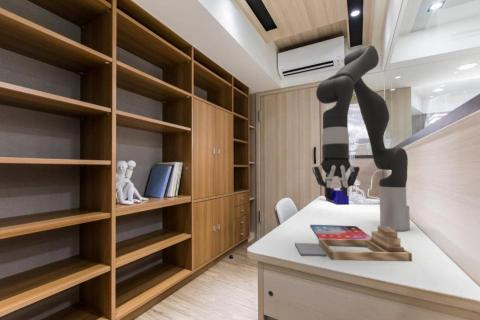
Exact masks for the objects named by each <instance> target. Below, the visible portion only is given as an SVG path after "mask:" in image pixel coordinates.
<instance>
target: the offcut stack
mask: <svg viewBox="0 0 480 320" xmlns="http://www.w3.org/2000/svg"><path fill="white" fill-rule="evenodd" d="M370 233H371V234H370V235H371V236H370V237H371V242H373V243H374V244H376V245H377V246H379V247H381V248H382V249H384V250H385V251H387V252H404V250H405V247H403V246H401V245H402V244H401V238H400V237H399V236H398V231H394V230H393V229H391V228H389V227H380V226H377V230H375V231H373V230H372V231H370Z"/></svg>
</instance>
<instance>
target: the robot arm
mask: <svg viewBox="0 0 480 320" xmlns="http://www.w3.org/2000/svg"><path fill="white" fill-rule="evenodd" d="M379 60H380V57H379V54H378V51H377V49H376V47H375V46H374V45H371V44H368V45H364V46H362V47H360V48H358V49H357V50H354V51H352V52H350V53H349V54H347V55H345V57H344V59H343V64H344V66H343V67H341V68H340V69H339V70H338V71H337V72H336V73H335V74H333V75H331V76H329V77H327V78H325V79H324V80H322V81H321V82H319V84H318V86H317V87H316V92H315V93H316V94H315V95H316V96H315V97H316V99H317V100H318V101H319V102H320V103H322V104H324V105H327V104H333V103H336V104H335V105H334V106H333V107H331V108H329V109H326V110H325V111H324V112H323V114H322V136H321V147H322V148H321V150H322V153H321V158H322V160H321V161H322V162H321V163H320V165H317V166H313V167H312V171H313V175H314V177H315V179H316V182H317V184H318V185H319V186H322V187H324V198H325V199H326V198H327V200H331V188H332V187H331V186H332V181H333V180H334V177H337V180H338V181H339V184H340V186H341V187H340V188H339V190H343V195H347V196H349V195H348V188H349V187H353V186H354V185H355V183H356V180H357V177H358V175H359V172H360V170H361V169H360V168H361V167H360V166H354V165H351V163H350V135H349V127H348V126H349V125H348V123H349V122H348V119H349V117H348V115H349V110H350V105H351V101H352V98H353V95H354V94H355V98H356V101H357V103H358V107H359V111H360V113H361V117H362V121H363V123H364V125H365V129H366V132H367V136H368V140H369V144H370V149H371V153H372V159H373V162H374V165H375V166H376V168H377V169H378V170H381V171H391V173H390V174H389V175H388V176H386V177H384V178H381V179H379V181H378V182H379V183H378V185H379V220H380V221H379V223H380V226H379V227H389V228H391V229H393V230H394V231H396V232H405V231H410V230H411V223H410V222H411V221H410V220H411V219H410V215H411V214H410V206H409V205H408V204H407V201H408V200H407V181H408V167H409V164H408V163H409V160H408V153H407V151H406V149H404V148H402V147H392V148H390V147H389V148H386V146H385V141H384V136H385V132H386V130H387V127H388V124H389V121H390V113H389V112H390V111H389V108H388V105H387V102H386V101H385V99H384V98H383V97H382V96H381V95H380V94H378V93H377V92H376V91H374V90H373V89H371V88H370V87H369V86H368V85H367V84H366V83H365V82H364V79H362V77H363V76H365V74H367V73H368V72H370V71H372V70H374V69H375V68H376V67H377V66H378V64H379ZM322 170H323V171H324V173H325V175H324V178H323V176H322ZM348 171H349V175H348V176H347V174H346V173H347V172H348Z"/></svg>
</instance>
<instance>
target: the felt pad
mask: <svg viewBox="0 0 480 320" xmlns="http://www.w3.org/2000/svg"><path fill="white" fill-rule="evenodd" d="M294 245H295V247H296V249H297V251H298V254H300V256H301V257H326V256H327V254H326V253H325V251H324V250H323V249H322V248H321V247H320V246H319V243H316V242H315V243H314V242H310V243H309V242H307V243H305V242H295V243H294Z"/></svg>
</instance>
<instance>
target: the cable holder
mask: <svg viewBox="0 0 480 320" xmlns="http://www.w3.org/2000/svg"><path fill="white" fill-rule="evenodd" d="M330 188H331V200H327V198H325V202H329V203H330V204H334V205H336V206H337V205H338V206H341V205H343V206H344V205H345V206H346V205H347V206H350V196H349V195H348V194H347V195H348V196H347V195H343V190H340V189H334V188H333V187H330Z"/></svg>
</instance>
